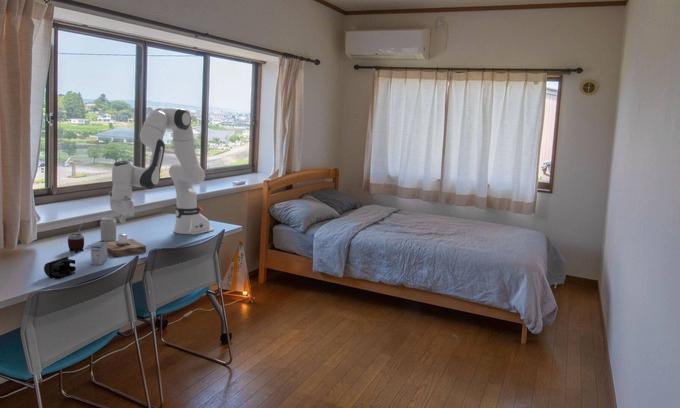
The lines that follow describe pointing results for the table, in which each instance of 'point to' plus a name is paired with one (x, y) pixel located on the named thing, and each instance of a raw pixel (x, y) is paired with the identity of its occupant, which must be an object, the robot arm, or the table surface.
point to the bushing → (122, 239)
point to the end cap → (60, 268)
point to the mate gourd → (76, 241)
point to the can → (108, 229)
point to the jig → (125, 248)
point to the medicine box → (98, 253)
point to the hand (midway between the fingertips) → (122, 222)
